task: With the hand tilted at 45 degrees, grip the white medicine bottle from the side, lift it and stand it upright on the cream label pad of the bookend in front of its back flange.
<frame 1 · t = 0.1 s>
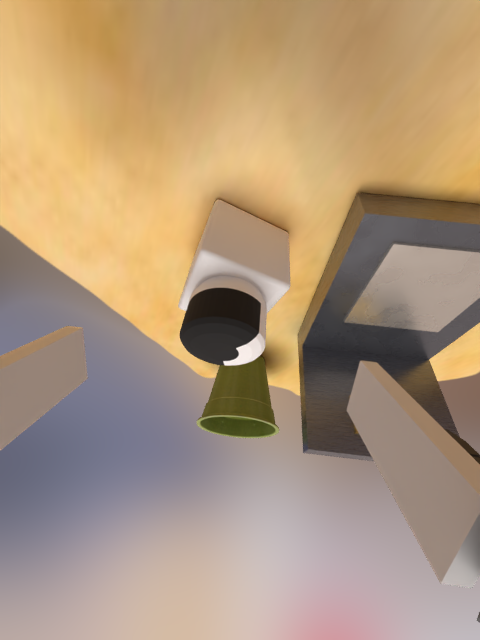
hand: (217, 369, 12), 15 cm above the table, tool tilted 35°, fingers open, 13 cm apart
medicine bottle: (238, 243, 25), on the table
plant pot: (244, 358, 43), on the table
bookend: (392, 292, 27), on the table
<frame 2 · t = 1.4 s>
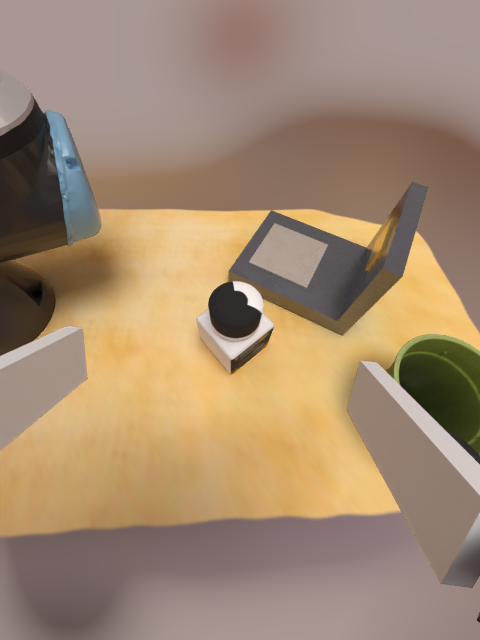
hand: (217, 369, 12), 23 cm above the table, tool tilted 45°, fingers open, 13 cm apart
medicine bottle: (234, 342, 38), on the table
plant pot: (389, 407, 34), on the table
bookend: (301, 272, 44), on the table
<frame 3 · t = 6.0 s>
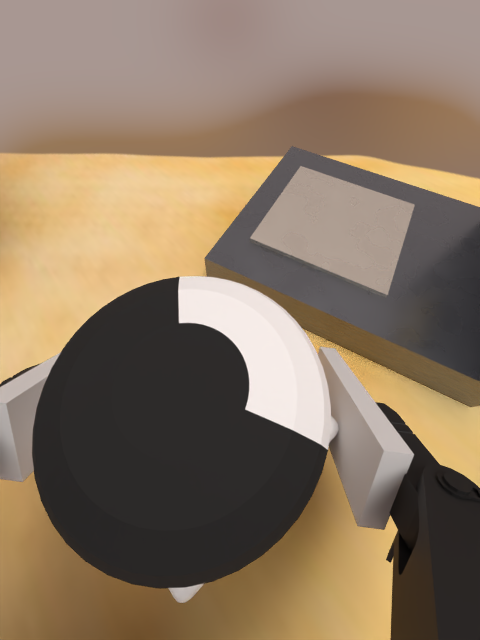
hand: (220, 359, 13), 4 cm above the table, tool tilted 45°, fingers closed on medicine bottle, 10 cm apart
medicine bottle: (215, 429, 15), on the table, touching gripper
bookend: (356, 263, 22), on the table
when the fingers open (9 cm above the table, at t = 12.0 s): medicine bottle drops 2 cm, resting on bookend.
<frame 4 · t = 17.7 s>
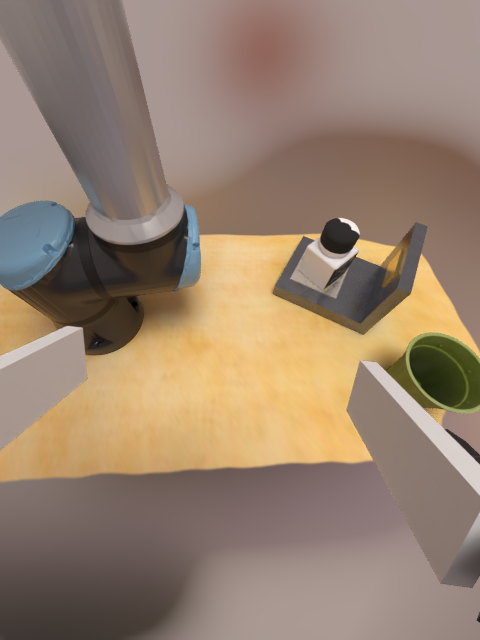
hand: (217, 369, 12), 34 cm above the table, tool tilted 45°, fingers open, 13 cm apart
medicine bottle: (320, 272, 54), point 3 cm above the table, touching bookend
plant pot: (400, 387, 46), on the table
bookend: (328, 285, 56), on the table
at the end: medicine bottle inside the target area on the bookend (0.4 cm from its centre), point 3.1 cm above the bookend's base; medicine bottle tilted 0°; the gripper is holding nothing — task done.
